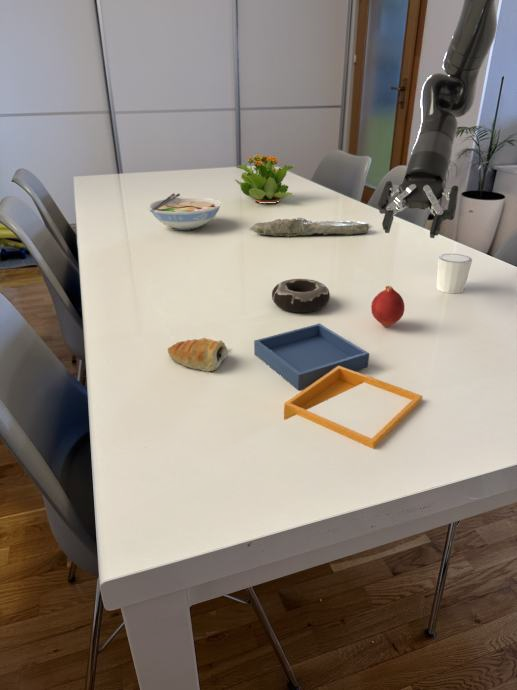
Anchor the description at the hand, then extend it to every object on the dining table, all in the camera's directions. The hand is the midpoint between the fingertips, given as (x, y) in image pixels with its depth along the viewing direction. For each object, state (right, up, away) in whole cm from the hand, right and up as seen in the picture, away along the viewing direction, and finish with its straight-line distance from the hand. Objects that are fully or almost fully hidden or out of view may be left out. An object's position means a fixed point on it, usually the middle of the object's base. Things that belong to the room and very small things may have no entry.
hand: (408, 233), depth 97 cm
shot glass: (+13, -9, +15) cm, 22 cm away
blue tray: (-20, -24, -14) cm, 34 cm away
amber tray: (-16, -31, -28) cm, 44 cm away
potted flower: (-25, +34, +100) cm, 108 cm away
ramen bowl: (-51, +16, +66) cm, 85 cm away
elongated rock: (-13, +12, +58) cm, 60 cm away
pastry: (-38, -24, -14) cm, 47 cm away
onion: (-5, -18, -2) cm, 19 cm away
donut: (-20, -13, +8) cm, 25 cm away
